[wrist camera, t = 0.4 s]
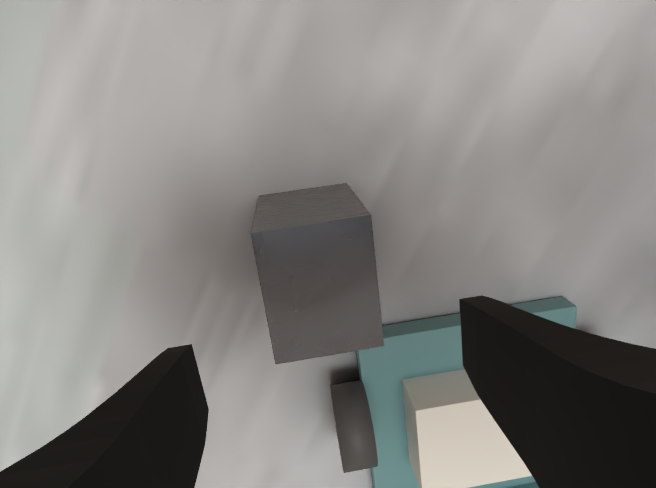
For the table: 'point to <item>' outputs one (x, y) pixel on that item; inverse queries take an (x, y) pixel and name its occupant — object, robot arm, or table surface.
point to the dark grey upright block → (317, 272)
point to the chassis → (428, 410)
